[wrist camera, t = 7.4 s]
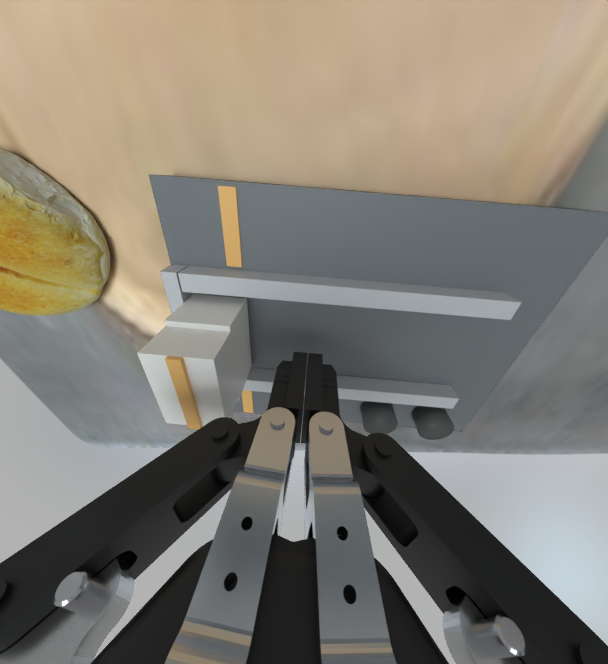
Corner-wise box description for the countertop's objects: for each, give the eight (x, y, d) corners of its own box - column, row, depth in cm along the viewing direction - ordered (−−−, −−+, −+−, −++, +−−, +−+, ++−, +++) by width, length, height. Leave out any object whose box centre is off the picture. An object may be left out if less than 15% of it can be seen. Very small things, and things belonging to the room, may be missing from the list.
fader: (246, 298, 13) (210, 357, 9) (251, 365, 16) (226, 435, 11) (194, 293, 13) (131, 349, 9) (208, 361, 16) (165, 430, 11)
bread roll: (-44, 243, 15) (-150, 260, 11) (-21, 112, 11) (-168, 81, 8) (88, 326, 18) (35, 359, 14) (139, 244, 14) (84, 263, 11)
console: (580, 209, 12) (667, 218, 9) (449, 411, 20) (471, 449, 18) (172, 175, 12) (124, 173, 9) (216, 390, 21) (199, 425, 18)
